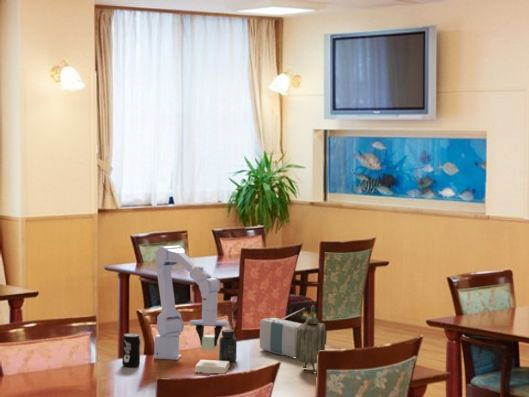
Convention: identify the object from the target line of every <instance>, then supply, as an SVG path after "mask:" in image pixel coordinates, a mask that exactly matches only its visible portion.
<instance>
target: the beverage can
mask: <svg viewBox="0 0 529 397" xmlns="http://www.w3.org/2000/svg"><path fill="white" fill-rule="evenodd" d="M123 335H124V336H123V338H122V357H121V358H122V363H121V364H122V365H123V367H125V368H138V367H139V366H140V364H141V337H140V334H139V333H136V332H135V333H134V332H130V333H124V334H123Z"/></svg>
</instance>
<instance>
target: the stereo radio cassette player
mask: <svg viewBox="0 0 529 397" xmlns="http://www.w3.org/2000/svg"><path fill="white" fill-rule="evenodd" d="M305 309H306V308H305V307H303V308H302V309H299V310H297V311H295V312H292V313H290V314H289V315H285V316H284V317H283V318H278V317H269V318H268V317H267V318H261V319H260V324H259V348H260V349H261V350H263V351H264V350H265V351H267V352H269V353H274V354H277V355H281V356H284V355H287V356H286V357H288V356H291V357H290V358H292V357H296V337H297V329H298V327H299V326H300V325H301V324H302V323H301V322H296V321H292V320H286V319H287V318H289V317H290V316H293V315H294V314H297V313H299V312H301V311H302V310H305Z"/></svg>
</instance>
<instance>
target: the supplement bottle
mask: <svg viewBox="0 0 529 397" xmlns="http://www.w3.org/2000/svg"><path fill="white" fill-rule="evenodd" d="M237 340H238V339H237V338H236V337H235V330H233V329H222V330H221V337H220V338H218V361H229V363H234V362H237V350H238V349H237V347H238V346H237V342H238V341H237Z"/></svg>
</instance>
